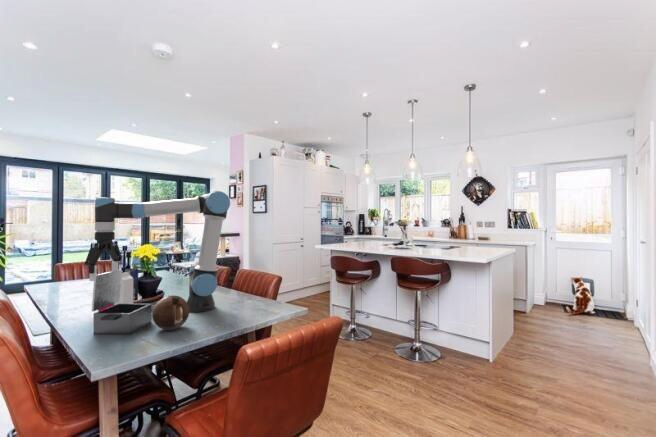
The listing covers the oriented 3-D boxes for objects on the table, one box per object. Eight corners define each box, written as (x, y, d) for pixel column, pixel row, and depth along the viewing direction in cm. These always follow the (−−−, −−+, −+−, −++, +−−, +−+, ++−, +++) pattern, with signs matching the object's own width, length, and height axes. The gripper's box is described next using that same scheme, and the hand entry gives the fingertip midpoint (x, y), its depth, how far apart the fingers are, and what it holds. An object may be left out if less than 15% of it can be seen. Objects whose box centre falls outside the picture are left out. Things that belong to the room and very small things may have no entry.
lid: (121, 269, 157) (116, 268, 157) (96, 275, 140) (90, 274, 140) (119, 301, 157) (113, 300, 157) (93, 311, 140) (87, 310, 141)
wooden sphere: (152, 326, 150) (152, 294, 150) (187, 321, 158) (187, 290, 158) (152, 337, 137) (152, 301, 137) (191, 331, 145) (191, 297, 145)
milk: (114, 316, 166) (113, 273, 166) (124, 313, 172) (123, 271, 171) (123, 317, 164) (123, 273, 164) (133, 313, 170) (133, 271, 170)
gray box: (154, 321, 158) (154, 302, 158) (126, 336, 138) (125, 315, 138) (122, 320, 159) (122, 302, 159) (89, 336, 138) (89, 315, 138)
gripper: (115, 230, 161) (115, 272, 161) (74, 232, 136) (74, 283, 136) (130, 230, 161) (130, 273, 161) (91, 232, 136) (91, 283, 136)
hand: (104, 277), depth 149 cm, fingers open, 13 cm apart
